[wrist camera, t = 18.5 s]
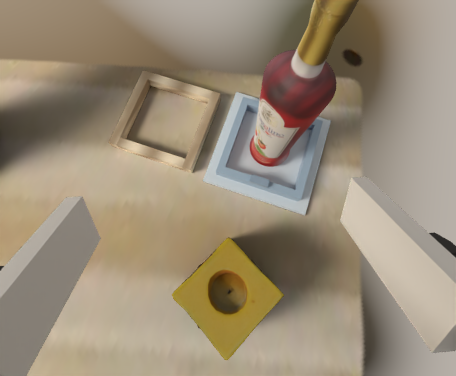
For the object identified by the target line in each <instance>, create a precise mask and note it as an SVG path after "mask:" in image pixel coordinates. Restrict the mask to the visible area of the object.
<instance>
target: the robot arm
mask: <svg viewBox="0 0 456 376" xmlns="http://www.w3.org/2000/svg"><path fill="white" fill-rule="evenodd" d="M340 221H341V223H342V224H343V226H344V227H345V229H346V230H347V231H348V233H349V234H350V236H351V237H352V239H353V240H354V241H355V243H356V244H357V246H358V247H359V249H360V250H361V252H362V253H363V254H364V256H365V257H366V259H367V260H368V261H369V263H370V264H371V266H372V267H373V269H374V270H375V271H376V273H377V275H378V276H379V277H380V279H381V280H382V282H383V283H384V285H385V286H386V288H387V289H388V290H389V292H390V293H391V295H392V296H393V297H394V299H395V300H396V302H397V303H398V305H399V306H400V308H401V309H402V311H403V312H404V313H405V315H406V316H407V318H408V319H409V321H410V322H411V324H412V325H413V326H414V328H415V329H416V331H417V332H418V334H419V335H420V336H421V338H422V339H423V341H424V342H425V344H426V345H427V346H428V348H429V349H430V351H431V352H432V353H437V352H448V351H455V350H456V246H455V245H454V244H453V243H452V242H450V241H449V240H447V239H445V238H443V237H441V236H440V235H438V234H436V233H428V232H427V231H426V230H425V229H423V228H422V227H421V226H420V225H419V224H418V223H417V222H416V221H414V219H413V218H411V217H410V216H409V215H408V214H407V213H406V212H405V211H404V210H402V208H400V207H399V206H398V205H397V204H396V203H395V202H394V201H392V199H391V198H389V197H388V196H387V195H386V194H385V193H384V192H383V191H382V190H381V189H380V188H378V187H377V186H376V185H375V184H374V183H373V182H372V181H371V180H370V179H368V177H355V178H351V181H350V185H349V189H348V193H347V197H346V201H345V205H344V208H343V212H342V216H341V220H340ZM100 239H101V238H100V236H99V234H98V231H97V229H96V227H95V224H94V222H93V220H92V218H91V215H90V213H89V211H88V208H87V206H86V204H85V202H84V199H83V197H82V196H80V197H66V198H65V199H64V200H63V201H62V202H61V204H60V205H59V206H58V207H57V208H56V209H55V210H54V211H53V213H52V214H51V215H50V216H49V217H48V218H47V219H46V220H45V221H44V223H43V224H42V225H41V226H40V227H39V228H38V229H37V230H36V232H35V233H34V234H33V235H32V236H31V237H30V238H29V239H28V240H27V242H26V243H25V244H24V245H23V246H22V247H21V248H20V249H19V251H18V252H17V253H16V254H15V255H14V256H13V257H12V258H11V259H10V261H9V262H8V263H7V264H6V265H5V266H0V376H26V375H27V373H28V371H29V370H30V368H31V366H32V364H33V362H34V360H35V359H36V357H37V355H38V353H39V351H40V349H41V348H42V346H43V344H44V342H45V340H46V338H47V337H48V335H49V333H50V331H51V329H52V327H53V325H54V324H55V322H56V320H57V318H58V316H59V314H60V313H61V311H62V309H63V307H64V305H65V303H66V302H67V300H68V298H69V296H70V294H71V292H72V290H73V289H74V287H75V285H76V283H77V281H78V279H79V278H80V276H81V274H82V272H83V270H84V268H85V267H86V265H87V263H88V261H89V259H90V257H91V256H92V254H93V252H94V250H95V248H96V246H97V244H98V243H99V241H100Z"/></svg>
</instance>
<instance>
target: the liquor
mask: <svg viewBox="0 0 456 376" xmlns="http://www.w3.org/2000/svg"><path fill="white" fill-rule="evenodd" d="M357 2H358V0H315V1H314V3H313V6H312V10H311V15H310V21H309V25H308V27H307V29H306V31H305V33H304V36H303V37H302V40H301V42H300V44H299V46H298V48H297V50H290V51H285V52H283V53H280V54H279V55H277V56H275V57H274V58H273V59H272V60H271V61H270V62H269V63H268V65H267V66H266V69H265V71H264V75H263V82H262V89H261V94H260V100H259V107H258V116H257V124H256V130H255V135H254V136H253V137H252V139H251V141H250V146H249V147H250V153H251V155H252V157H253V158H254V160H255V161H256V162H258V163H259V164H261V165H263V166H267V167H274V166H278V165H280V164H282V163H283V162H284V161H285V160H286V159H287V157H288V156H289V153H290V149H291V148H292V146H293V145H294V144H295V143H296V141H297V140H298V139H299V138H300V137H301V135H302V134H303V133H304V132H305V131H306V130H307V129H308V128H309V127H310V125H311V124H312V123H313V122H314V121H315V119H316V118H317V117H318V116H319V114H320V113H321V112H322V111H323V110H324V108H325V107H326V106H327V105H328V104H329V102H330V101H331V100H332V98H333V96H334V94H335V91H336V77H335V74H334V72H333V70H332V68H331V67H330V65H329V64H328V63H327V62H326V59H327V56H328V54H329V51H330V49H331V46H332V44H333V41H334V39H335V36H336V34H337V33H338V32H339V31H340V29H341V28H342V27H343V26H344V24H345V23H346V22H347V21H348V19H349V17H350V15H351V13H352V11H353V9H354V8H355V6H356V4H357Z"/></svg>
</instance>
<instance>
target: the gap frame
mask: <svg viewBox="0 0 456 376" xmlns="http://www.w3.org/2000/svg"><path fill="white" fill-rule="evenodd" d="M151 86H153V87H156V88H159V89H162V90H165V91H169V92H172V93H175V94H178V95H182V96H185V97H188V98H191V99H195V100H198V101H201V102H204V103H207V106H206V108H205V111H204V113H203V116H202V118H201V121H200V123H199V126H198V128H197V131H196V133H195V136H194V138H193V141H192V143H191V146H190V148H189V151H188V153H187V156H186V158H185V159H184V158H181V157H178V156H175V155H172V154H169V153H166V152H163V151H160V150H157V149H154V148H151V147H148V146H145V145H142V144H139V143H136V142H133V141H130V140H127V139H126V138H127V136H128V134H129V132H130V130H131V127H132V125H133V123H134V121H135V119H136V117H137V115H138V112H139V110H140V108H141V106H142V104H143V102H144V99H145V97H146V95H147V93H148V91H149V89H150V87H151ZM220 100H221V97H220V93H217V92H214V91H210V90H207V89H204V88H201V87H197V86H194V85H191V84H187V83H184V82H181V81H178V80H174V79H171V78H168V77H165V76H161V75H158V74H155V73H151V72H148V71H145V70H143V71H142V73H141V75H140V77H139V79H138V81H137V84H136V86H135V88H134V90H133V92H132V94H131V96H130V98H129V100H128V102H127V104H126V106H125V109H124V111H123V113H122V115H121V117H120V119H119V121H118V123H117V125H116V127H115V129H114V131H113V134H112V136H111V138H110V140H109V142H108V143H110V144H111V145H112V146H113V147H116V148H119V149H122V150H125V151H128V152H131V153H134V154H137V155H140V156H143V157H146V158H149V159H152V160H155V161H158V162H161V163H164V164H167V165H170V166H173V167H176V168H179V169H182V170H185V171H188V172H191V173H192V172H193V170H194V167H195V165H196V162H197V159H198V157H199V154H200V152H201V149H202V147H203V144H204V141H205V139H206V136H207V134H208V131H209V129H210V126H211V123H212V121H213V118H214V116H215V113H216V111H217V108H218V105H219V103H220Z"/></svg>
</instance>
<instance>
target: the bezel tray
mask: <svg viewBox="0 0 456 376" xmlns="http://www.w3.org/2000/svg"><path fill="white" fill-rule="evenodd" d="M259 100H260V99H258V98H255V97H252V96H248V95H245V94H242V93H238V92H236V94H235V97H234V99H233V102H232V105H231V107H230V110H229V113H228V115H227V118H226V121H225V123H224V126H223V129H222V131H221V134H220V137H219V139H218V142H217V145H216V147H215V150H214V153H213V155H212V158H211V161H210V163H209V166H208V169H207V171H206V174H205V177H204V179H203V182H206V183H209V184H212V185H215V186H218V187H220V188H223V189H226V190H229V191H232V192H235V193H238V194H241V195H244V196H247V197H250V198H253V199H256V200H259V201H262V202H265V203H268V204H271V205H274V206H277V207H280V208H283V209H286V210H289V211H292V212H295V213H298V214H301V215H305V214H306V210H307V207H308V203H309V199H310V196H311V192H312V188H313V185H314V181H315V177H316V174H317V170H318V166H319V163H320V159H321V155H322V152H323V148H324V145H325V141H326V137H327V134H328V130H329V126H330V123H331V120H327V119H324V118H321V117H317V118H316V119H315V121H314V122H313V123H312V124H311V125H310V127H309V128H308V129H307V130H306V131H305V132H304V133H303V134H302V135H301V137H300V138H299V139H298V140H297V141H296V143H295V144H294V145H293V146H292V148H291V149H290V153H289V156H288V157H287V159H286V160H285V161H284V162H283V163H282V164H280V165H278V166H274V167H267V166H263V165H261V164H259V163H258V162H256V161H255V160H254V158H253V157H252V155H251V153H250V147H249V146H250V141H251V139H252V137H253V136H254V135H255V130H256V124H257V116H258V107H259Z"/></svg>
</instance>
